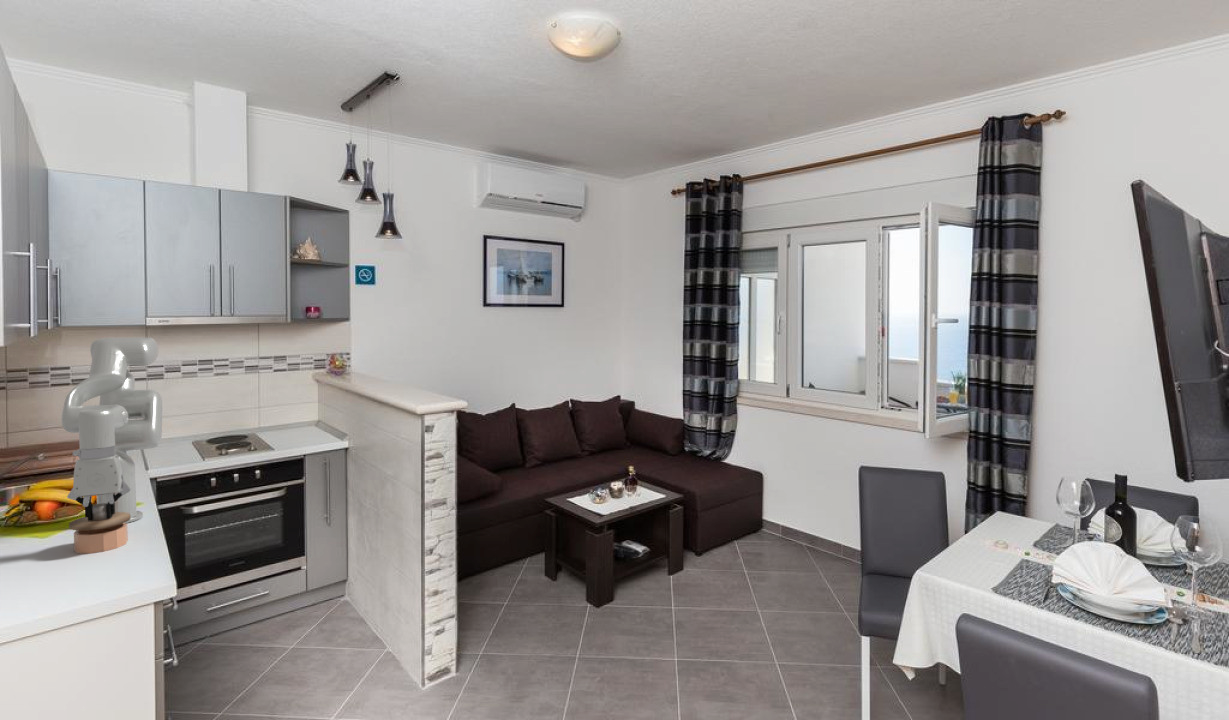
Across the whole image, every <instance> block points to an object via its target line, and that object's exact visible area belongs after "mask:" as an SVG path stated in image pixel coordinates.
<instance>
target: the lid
mask: <svg viewBox="0 0 1229 720" xmlns="http://www.w3.org/2000/svg"><path fill="white" fill-rule="evenodd" d="M107 504H108V503H101V504H97V503H96V504H93V506H92V520H91V521H88V517H85V516H82V517H80V518H76V519H74V520H72V521H70V522H69V525H68V527H69V530H72V531H76V530H95V529H102V528H107V527H112V526H116V525H119V524H122V523H125V522H127V521H129V520H130V518H131V517H130V513H126V512H115V514H113V516H112V517H111V518H109V519H108V518H107Z"/></svg>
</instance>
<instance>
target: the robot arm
mask: <svg viewBox="0 0 1229 720" xmlns="http://www.w3.org/2000/svg"><path fill="white" fill-rule="evenodd" d="M89 348H90V349H89V350H90V356H91V364H90V370H89V377H87V378H85V379H84V380H82V381H81V382H79V383H78V384H76V385H75V387H73V388H72V389H71V390H70V391H69V392H68V393H67V395H66V396H65V399H64V402H63V407H62V408H63V409H62V412H61V413H62V414H61V425H62V428H63V430H65V431H66V432H68V433H70V434H71V433H73V434H76V433H77V434H78V441H79V442H78V443H79V448H78V449H77V450H72V456H75V457H78V458H79V459H77V460H75V465H74V470H73V484H72V485H73V487H72V488H71V490H70V492H69V493H68V495H66V497H67V499H70V500H73V501H75V502H78V504H80V505H82V507H84V517H88V521H91V520H92V506H93V505H94V503H92V498H93V496H96V504H101V503H108V504H107V518H108V519H109V518H111V517H112V516H113V514H115V512H126V513H130V517H131V518H130V520H129V521H127V522H125V523H127V524H129V523H132V522H135V521H138V520H140V519H142V518H143V516H144V513H143V511H140V510H137V494H136V493H137V486H136V484H137V483H136V465H135V462H134V460H133V458H131V456H129V455H128V454H127V453H126V451H133V450H136V451H138V450H147V449H148V450H149V449H155V448H156V447H159V445H160V443H161V441H162V436H163V435H162V434H163V433H162V432H163V400H162V396H161V394H160V393H159V391H158V390H157V391H156V390H154V389H135V387H136V386H135V384H136V379H135V377H134V376H133V374H131V372H129V370H128V366H149V365H151V364H153V363H155V361H156V360H157V358H158V355H159V346H158V343H157V340H155V339H154V338H152V337H103V338H98V339H95V340H94V341H92V342H91V344H90V347H89ZM98 397H99V405H98V404H97V405H96V404H95V405H83V404H84V403H86V402H87V401H90V400H91V399H94V398H98Z"/></svg>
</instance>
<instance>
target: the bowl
mask: <svg viewBox="0 0 1229 720" xmlns="http://www.w3.org/2000/svg"><path fill="white" fill-rule="evenodd" d="M128 533H129V532H128V523H122V524H119V525H116V526H112V527H107V528H102V529H95V530H74V532H73V542H74V543H73V545H74V552H76V553H77V554H95V553H103V552H107V551H112V550H114V549H118V548H120V547H123V546H124V545H126V544H127V542H129V539H128V538H129V537H128V536H129V535H128Z"/></svg>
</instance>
